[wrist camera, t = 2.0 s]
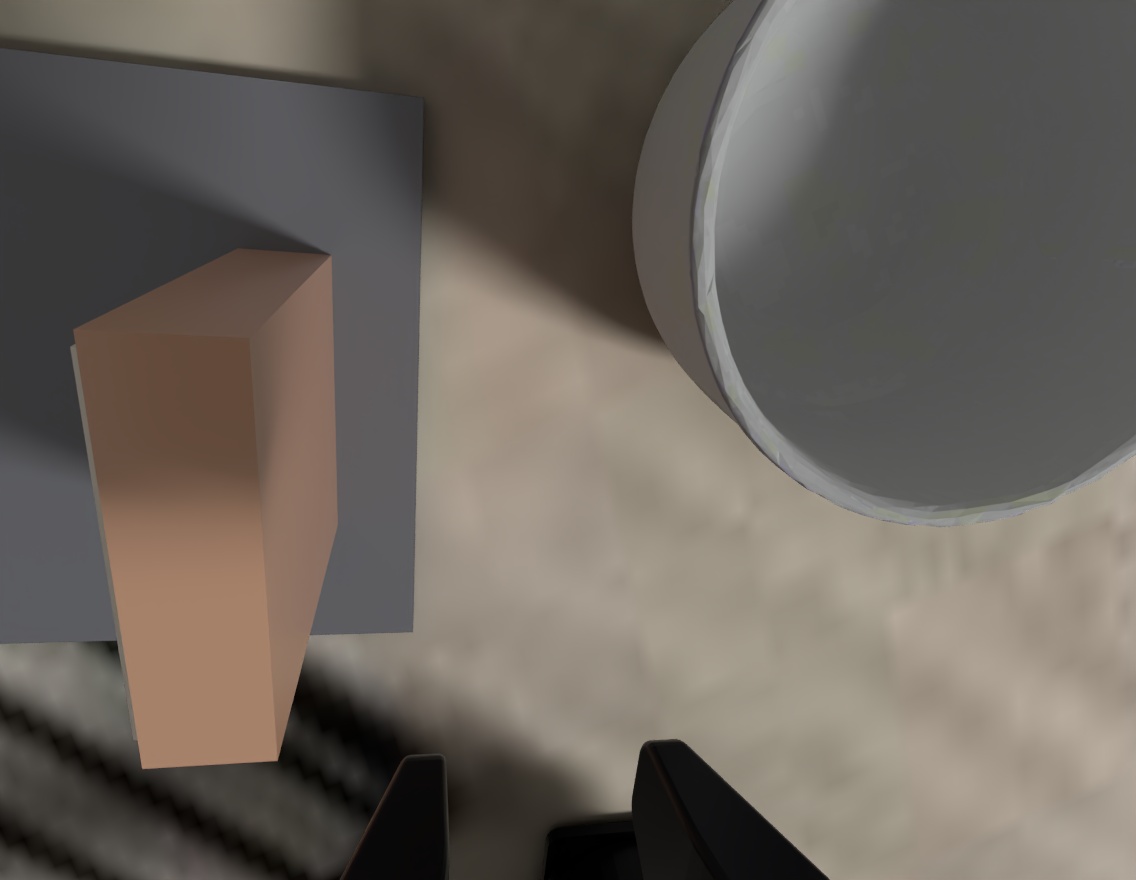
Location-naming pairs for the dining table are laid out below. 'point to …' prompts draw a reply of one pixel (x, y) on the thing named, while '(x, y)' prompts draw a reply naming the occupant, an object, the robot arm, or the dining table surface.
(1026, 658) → the dining table surface
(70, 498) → the mat
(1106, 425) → the teacup
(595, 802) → the dining table surface
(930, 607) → the dining table surface
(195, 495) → the tile
